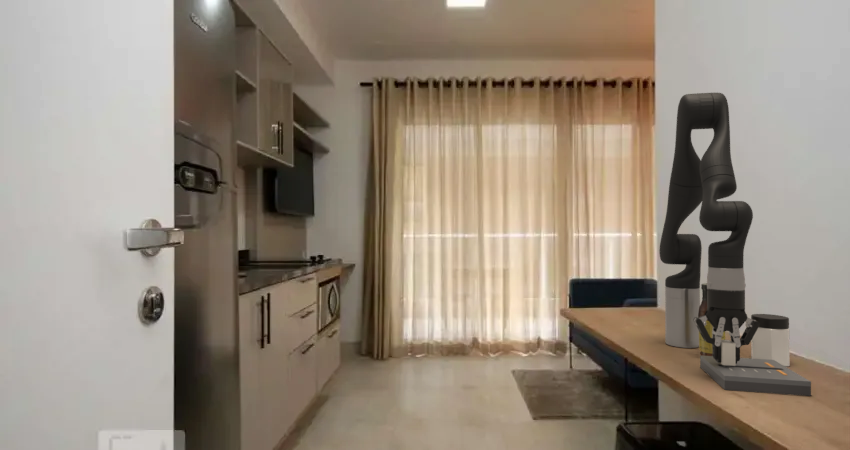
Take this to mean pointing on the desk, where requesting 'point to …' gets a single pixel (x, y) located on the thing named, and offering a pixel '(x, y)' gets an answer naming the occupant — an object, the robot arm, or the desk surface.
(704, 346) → the sauce bottle
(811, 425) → the desk surface
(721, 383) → the fader console
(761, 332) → the jar
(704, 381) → the desk surface
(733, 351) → the fader tab
